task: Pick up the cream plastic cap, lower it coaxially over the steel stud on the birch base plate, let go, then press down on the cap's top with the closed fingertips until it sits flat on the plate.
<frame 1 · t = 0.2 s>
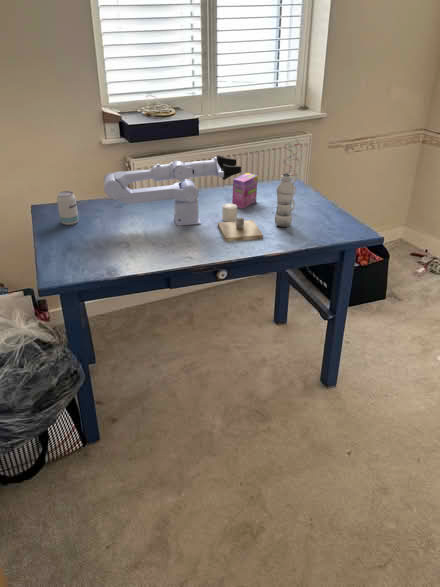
hand: (238, 165, 192), 21 cm above the table, tool horizontal, fingers open, 7 cm apart
box: (244, 204, 216), on the table
dna model: (286, 212, 209), on the table
plastic bottle: (282, 225, 197), on the table
beverage can: (70, 223, 197), on the table
cap: (229, 219, 202), on the table
stud base: (239, 232, 191), on the table
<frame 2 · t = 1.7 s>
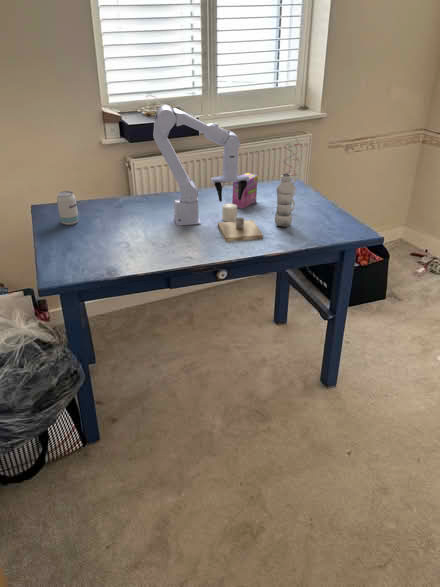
hand: (229, 200, 197), 8 cm above the table, tool pointing down, fingers open, 7 cm apart
nothing on the table moved.
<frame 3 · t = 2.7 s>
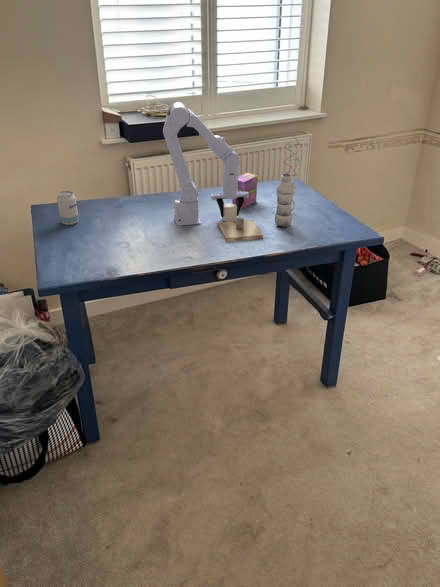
hand: (229, 215, 201), 1 cm above the table, tool pointing down, fingers closed on cap, 5 cm apart
cap: (229, 219, 202), on the table, touching gripper
everything else where it was.
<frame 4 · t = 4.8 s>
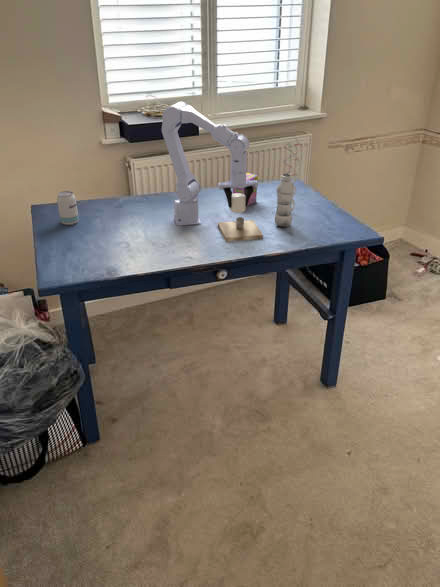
hand: (237, 206, 189), 9 cm above the table, tool pointing down, fingers closed on cap, 5 cm apart
cap: (237, 209, 190), point 8 cm above the table, touching gripper
everything else where it was.
when the fingers open (3 cm above the table, at t = 7.0 s): cap stays where it is, resting on stud base.
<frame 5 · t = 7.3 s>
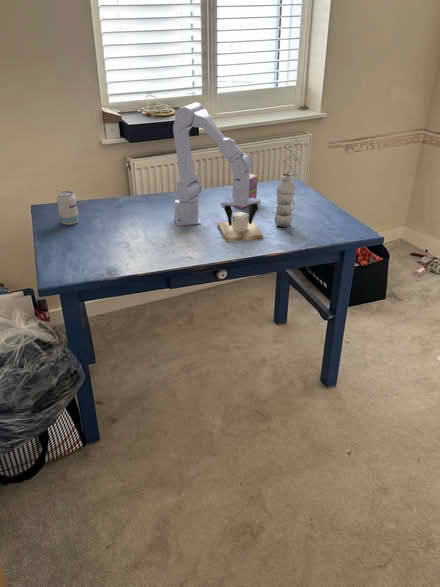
hand: (240, 223, 189), 3 cm above the table, tool pointing down, fingers open, 7 cm apart
cap: (239, 228, 190), point 1 cm above the table, touching stud base
everything else where it was.
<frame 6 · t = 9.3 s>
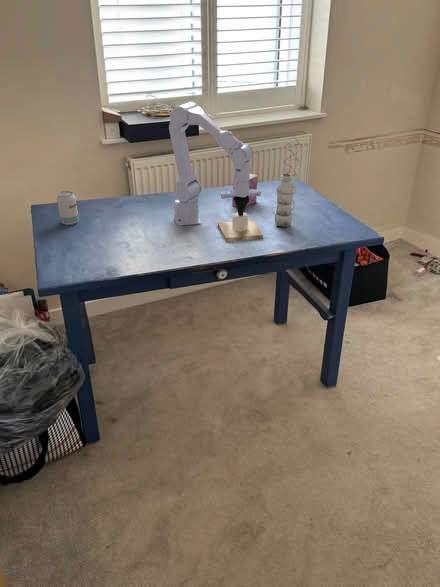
hand: (240, 215, 187), 7 cm above the table, tool pointing down, fingers closed, pressing on cap
cap: (239, 228, 190), point 1 cm above the table, touching gripper, stud base
everything else where it was.
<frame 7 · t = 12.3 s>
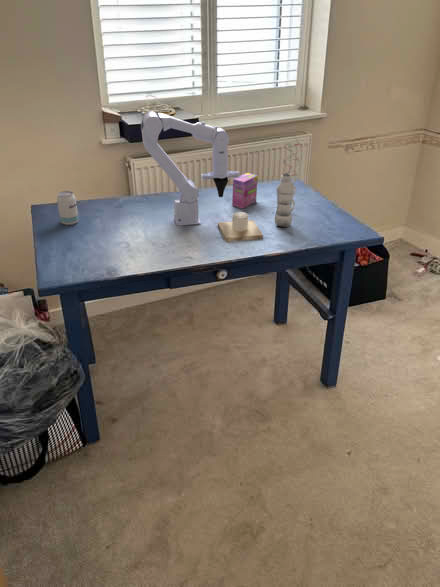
hand: (220, 196, 197), 9 cm above the table, tool pointing down, fingers closed
cap: (239, 228, 190), point 1 cm above the table, touching stud base
everything else where it was.
at the end: cap 0.0 cm off-centre on the stud base, point 1.5 cm above the stud base's base; cap tilted 0°; the gripper is holding nothing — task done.
